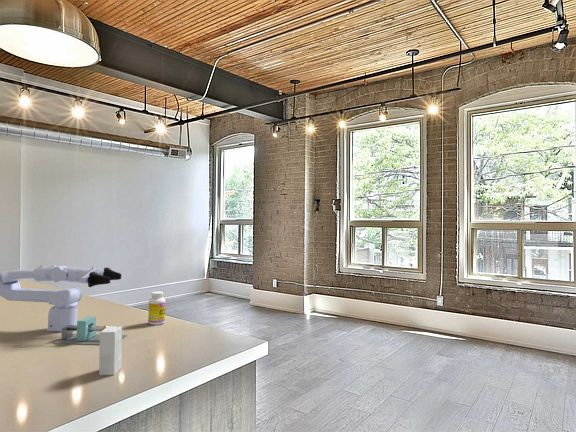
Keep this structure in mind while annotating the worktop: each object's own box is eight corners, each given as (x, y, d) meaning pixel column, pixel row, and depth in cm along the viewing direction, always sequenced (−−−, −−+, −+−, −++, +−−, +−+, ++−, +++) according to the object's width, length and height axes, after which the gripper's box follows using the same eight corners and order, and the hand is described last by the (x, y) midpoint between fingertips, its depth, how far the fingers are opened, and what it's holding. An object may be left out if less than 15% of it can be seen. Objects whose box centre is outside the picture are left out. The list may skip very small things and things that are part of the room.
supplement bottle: (159, 325, 159) (160, 294, 159) (145, 324, 160) (145, 293, 160) (168, 321, 165) (168, 291, 165) (153, 320, 166) (154, 290, 167)
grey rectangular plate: (53, 343, 134) (53, 342, 134) (72, 334, 145) (72, 333, 145) (112, 345, 133) (112, 344, 133) (127, 335, 144) (127, 335, 144)
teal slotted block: (76, 340, 136) (77, 321, 136) (87, 335, 142) (87, 316, 143) (85, 340, 136) (85, 321, 136) (95, 335, 142) (95, 316, 143)
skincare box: (106, 367, 113) (107, 326, 113) (121, 367, 114) (122, 326, 114) (98, 375, 107) (99, 332, 107) (114, 375, 108) (115, 331, 108)
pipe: (61, 340, 137) (61, 326, 137) (68, 337, 141) (68, 323, 141) (116, 342, 137) (116, 327, 137) (121, 338, 141) (121, 324, 141)
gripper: (70, 268, 144) (105, 271, 142) (94, 262, 158) (125, 265, 157) (69, 287, 144) (104, 290, 143) (93, 279, 159) (125, 282, 157)
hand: (115, 278), depth 150 cm, fingers open, 7 cm apart
